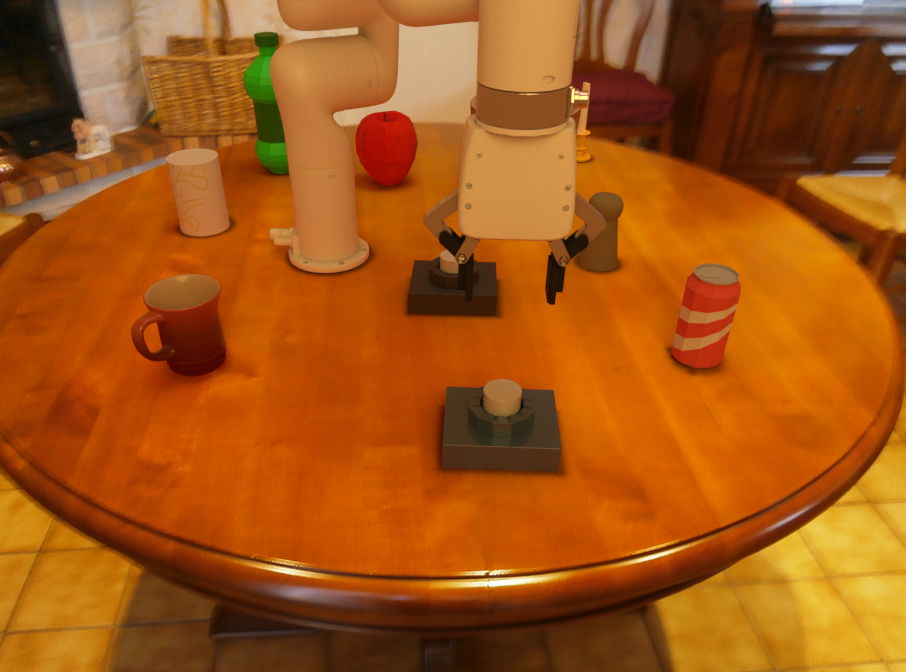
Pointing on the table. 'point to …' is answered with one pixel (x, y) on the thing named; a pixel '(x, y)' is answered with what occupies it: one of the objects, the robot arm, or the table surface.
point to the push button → (448, 262)
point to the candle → (582, 131)
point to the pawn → (603, 234)
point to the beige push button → (502, 397)
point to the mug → (184, 324)
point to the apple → (386, 146)
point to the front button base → (501, 433)
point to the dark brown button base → (452, 290)
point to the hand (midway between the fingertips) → (509, 295)
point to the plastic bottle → (266, 106)
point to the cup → (198, 191)
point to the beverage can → (706, 315)
